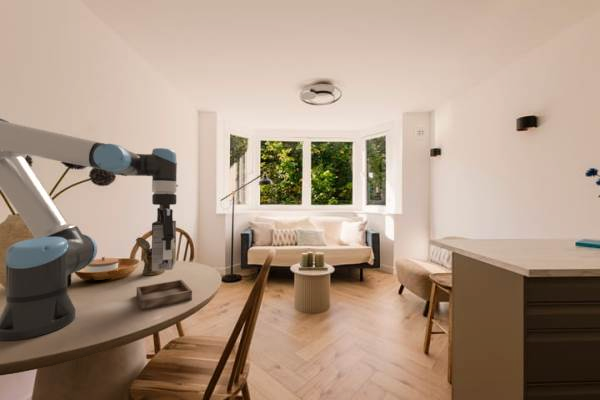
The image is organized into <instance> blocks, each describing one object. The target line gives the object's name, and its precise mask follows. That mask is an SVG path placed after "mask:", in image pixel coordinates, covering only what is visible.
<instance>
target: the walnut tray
mask: <svg viewBox="0 0 600 400" xmlns="http://www.w3.org/2000/svg"><path fill="white" fill-rule="evenodd" d="M136 298H137V302H138V305H139V308H140V310H141V311H146V310H151V309H156V308H160V307H164V306H169V305H174V304H179V303H182V302H187V301H192V300H193V290H192V289H191V287H189V285H187V284H186V283H185V282H184V280H183V279H178V280H177V279H176V280H171V281H165V282H159V283H154V284H147V285H142V286H137V287H136Z"/></svg>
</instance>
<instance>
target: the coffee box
mask: <svg viewBox="0 0 600 400" xmlns="http://www.w3.org/2000/svg"><path fill="white" fill-rule="evenodd" d="M163 225H164V223H162V222H160V221H157V220H156V221H155V222H152V223H151V248H152V271H160V270H165V271H172V270H173V269H174V267H175V265H176V263H177V220H173V233H174V238H173V239H172V259H168V260H163V241H161V239H162V238H164V236H163Z"/></svg>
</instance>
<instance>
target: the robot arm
mask: <svg viewBox="0 0 600 400" xmlns="http://www.w3.org/2000/svg"><path fill="white" fill-rule="evenodd" d="M27 156H31V157H36V158H42V159H47V160H52V161H57V162H61V163H62V162H63V163H68V164H71V165H73V164H74V165H78V166H83V167H88V168H94V169H98V170H103V171H107V172H111V174H112V175H115V176H122V177H123V176H124V177H127V176H129V177H130V176H133V177H141V176H142V177H152V178H151V179H152V181H151V189H152V190H151V192H152V193H153V194H152V200H151V201H152V204H153V205H155V206H156V205H157V206H159V207H157V210H156V211H157V212H156V213H157V214H156V215H157V216H156V218H157V219H156V221H160V222H162V223H164V225H163V236H164V238H162V239H161V241H163V260H168V259H172V239H173V238H174V233H173V221H174V220H173V219H174V218H173V211H174V210H173V209H172V208H171V206H172V205H173V206H174V205H177V194H175V193H177V188H178V186H179V185H178V184H177V172H178V171H177V165H178V163H177V153H176V151H175V150H173V149H171V148H162V147H160V148H159V147H158V148H156V147H155V148H153V149H152V151H151V153H150V154H149V153H134V152H132V151H130V150H128V149H127V148H124V147H122V145H117V144H114V143H103V142H99V141H98V142H97V141H94V140H90V139H85V138H81V137H77V136H72V135H67V134H63V133H57V132H54V131H50V130H49V131H48V130H45V129H40V128H35V127H31V126H26V125H22V124H17V123H12V122H9V121H8V120H6V119H3V118H0V189H1V191H2V192H3V193H4V195H5V196H6V198H7V199H8V201H9V202H10V204H11V205H12V206H13V208H14V209H15V211H16V212H17V214H18V216H20V218H21V219H22V221H23V222H24V224H25V225H26V227H27V228H28V229H29V231H30V233H31V234H32V236H33V239H32V238H29V239H24V240H21V241H18V242H15V243H12V244H11V245H10V246H9V247H8V248H7V251H6V257H5V261H4V262H5V269H6V270H5V271H6V272H5V276H6V277H5V278H6V279H5V282H6V283H5V285H6V288H5V291H6V294H5V295H6V300H5V306H4V308H3V311H2V313H1V315H0V341H18V340H25V339H30V338H34V337H38V336H39V337H40V336H43V335H46V334H49V333H52V332H55V331H58V330H60V329H62V328H64V327H66V326H67V325H70V324H71V323H72V322H73V321H75V319H76V308H75V306H74V304H73V301H72V300H71V297H70V295H69V292H68V276H70V275H72V274H73V273H74V274H75V273H77V272H79V271H81V270H83V269H85V268H86V267H87V265H89V264H90V263H91V262H92V261H93V260H95V258H96V256H97V254H98V245H97V243H96V241H95V239H93V238H92V237H91V236H89V235H86V234H84V233H82V232H81V230H80V228H79V227H78V226H77V225H75V224H71V223H68V221H67V219H66V218H65V216H64V215H63V213H62V212H61V210H60V209H59V207H58V205H56V202H54V200H53V198H52V196H51V195H50V193H49V192H48V191H47V190H46V188H45V187H44V185H43V183H42V182H41V181H40V179H39V177H38V176H37V175H36V173H35V171H34V170H33V168H32V167H31V165H30V163H28V161H27V160H26V158H27Z"/></svg>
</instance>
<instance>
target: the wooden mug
mask: <svg viewBox="0 0 600 400" xmlns="http://www.w3.org/2000/svg"><path fill="white" fill-rule="evenodd" d="M135 241H136V244H137V246H138V247H139V248H141V249H142V250H143V251H142V260H143V264H144V266H143V270H142V275H144V276H158V275H162V274H163V273H165V271H166V270H160V271H152V247H151V244H150V243H149V240H147V239H145V238H142V237H137V238H136V239H135Z"/></svg>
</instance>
